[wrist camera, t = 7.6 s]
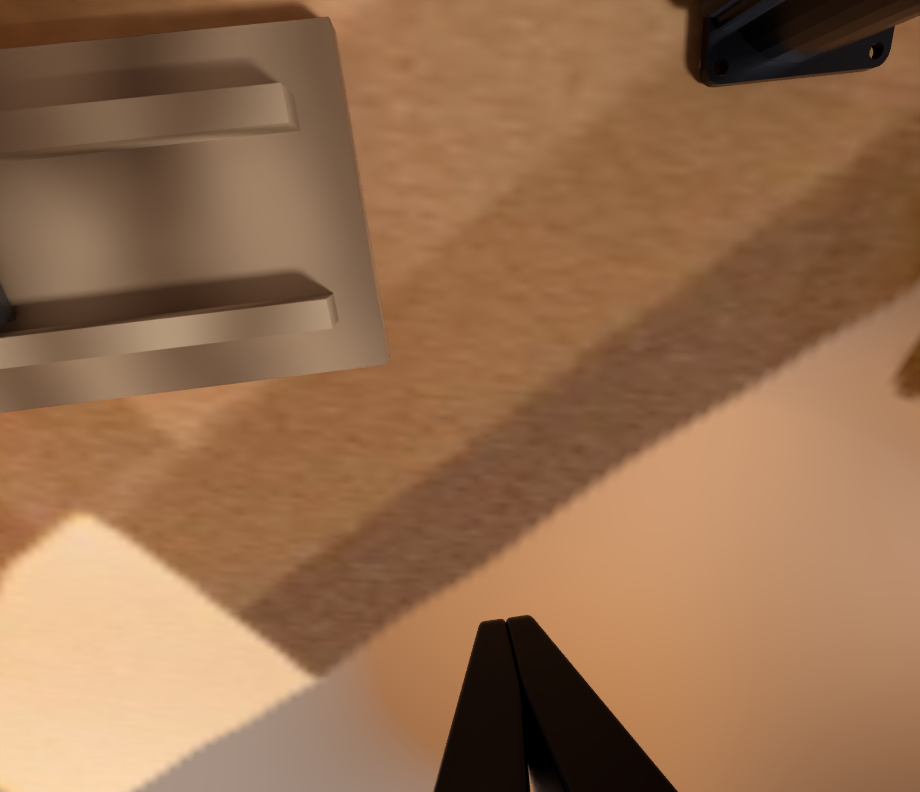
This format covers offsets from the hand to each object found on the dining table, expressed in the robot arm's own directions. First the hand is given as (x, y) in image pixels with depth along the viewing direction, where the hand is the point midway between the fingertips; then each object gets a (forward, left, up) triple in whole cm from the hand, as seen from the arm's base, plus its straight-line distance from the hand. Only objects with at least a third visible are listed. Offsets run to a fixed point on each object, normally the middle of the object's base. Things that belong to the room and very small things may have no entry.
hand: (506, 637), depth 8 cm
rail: (+15, -7, -13) cm, 21 cm away
